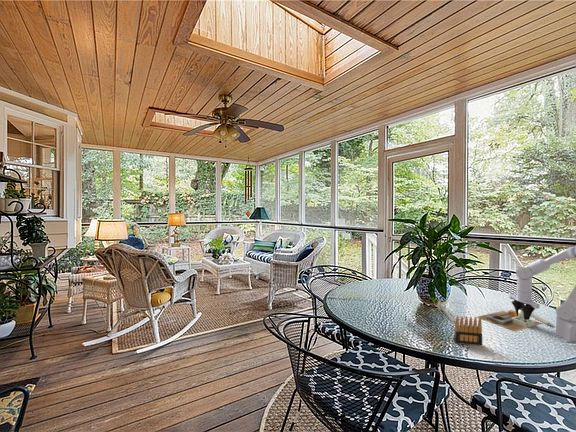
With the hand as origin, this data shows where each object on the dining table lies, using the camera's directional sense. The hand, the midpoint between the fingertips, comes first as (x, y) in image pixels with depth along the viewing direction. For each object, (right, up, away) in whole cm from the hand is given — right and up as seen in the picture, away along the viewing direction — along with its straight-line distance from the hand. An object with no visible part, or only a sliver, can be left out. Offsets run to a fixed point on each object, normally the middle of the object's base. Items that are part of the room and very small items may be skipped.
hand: (523, 317), depth 144 cm
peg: (0, -2, 0) cm, 2 cm away
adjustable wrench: (+14, -4, +12) cm, 19 cm away
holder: (-4, -4, +4) cm, 7 cm away
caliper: (-32, -4, +12) cm, 34 cm away
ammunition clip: (-39, -5, -18) cm, 43 cm away
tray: (0, -4, 0) cm, 4 cm away
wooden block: (-3, -2, +6) cm, 7 cm away
